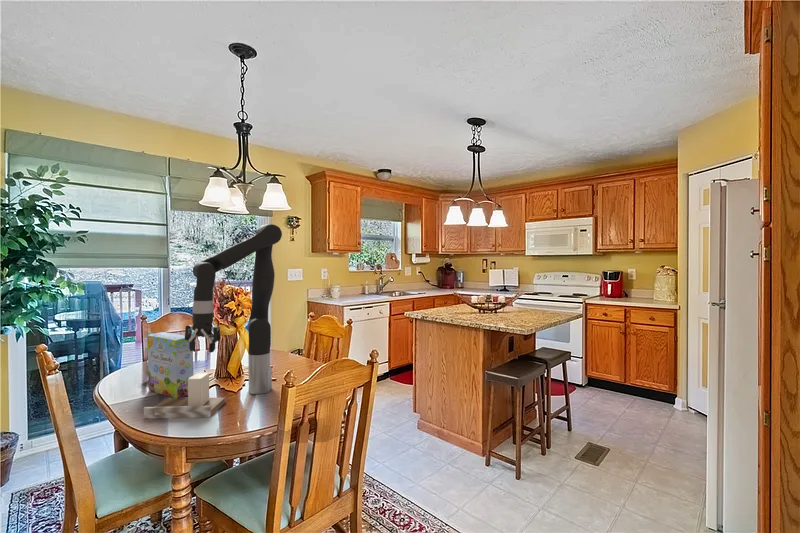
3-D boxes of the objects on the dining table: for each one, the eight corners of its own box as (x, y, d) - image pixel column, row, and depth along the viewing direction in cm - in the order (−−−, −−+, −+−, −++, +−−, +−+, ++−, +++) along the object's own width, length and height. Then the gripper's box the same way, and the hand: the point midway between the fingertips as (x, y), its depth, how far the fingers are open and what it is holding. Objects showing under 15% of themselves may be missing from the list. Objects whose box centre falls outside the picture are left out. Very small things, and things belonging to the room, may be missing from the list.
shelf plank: (225, 402, 160) (225, 392, 160) (209, 417, 145) (209, 407, 145) (166, 403, 159) (165, 393, 159) (143, 418, 144) (143, 408, 144)
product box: (209, 399, 158) (208, 373, 157) (201, 406, 151) (200, 378, 150) (196, 400, 157) (196, 373, 157) (187, 406, 150) (187, 378, 150)
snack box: (146, 391, 173) (145, 334, 173) (165, 385, 181) (165, 331, 180) (176, 400, 163) (175, 339, 162) (195, 393, 171) (194, 335, 170)
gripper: (224, 311, 159) (223, 350, 159) (193, 309, 162) (192, 348, 162) (212, 313, 152) (211, 354, 152) (180, 311, 154) (179, 352, 154)
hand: (202, 351), depth 157 cm, fingers open, 8 cm apart
